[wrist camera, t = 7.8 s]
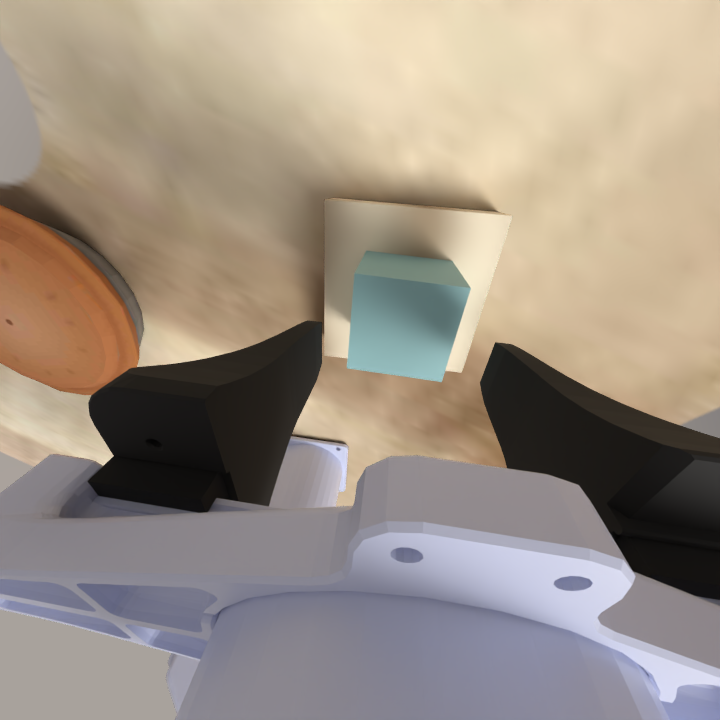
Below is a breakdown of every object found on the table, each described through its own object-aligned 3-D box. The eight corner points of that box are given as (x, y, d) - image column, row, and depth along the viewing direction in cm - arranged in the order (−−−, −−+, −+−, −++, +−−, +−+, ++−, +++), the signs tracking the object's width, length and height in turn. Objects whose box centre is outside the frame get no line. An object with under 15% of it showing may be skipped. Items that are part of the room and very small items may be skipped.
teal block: (358, 327, 19) (346, 368, 15) (366, 250, 16) (354, 273, 12) (432, 337, 19) (441, 381, 14) (452, 261, 16) (471, 288, 12)
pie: (187, 277, 21) (135, 300, 17) (151, 397, 29) (109, 432, 25) (-39, 137, 18) (-171, 123, 14) (-12, 314, 26) (-92, 339, 22)
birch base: (331, 339, 23) (324, 355, 20) (333, 197, 17) (324, 199, 15) (455, 354, 22) (461, 372, 20) (498, 212, 16) (512, 215, 14)
